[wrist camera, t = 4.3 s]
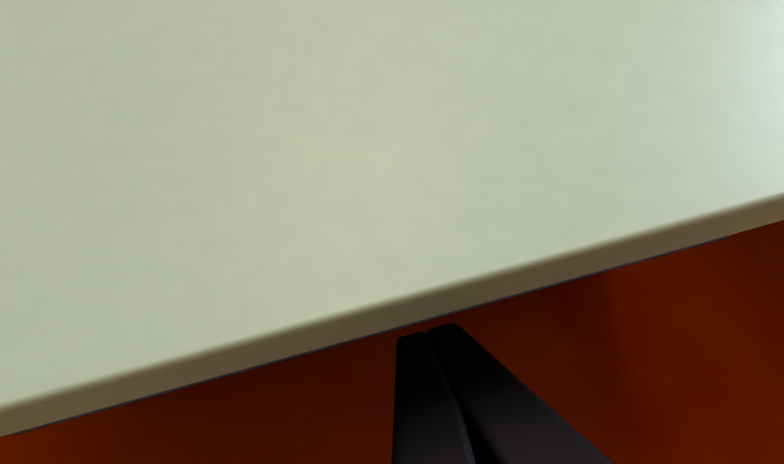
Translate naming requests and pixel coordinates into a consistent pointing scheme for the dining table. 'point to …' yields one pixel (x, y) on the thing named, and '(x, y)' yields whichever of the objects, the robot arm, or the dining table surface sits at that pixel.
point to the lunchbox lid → (348, 170)
